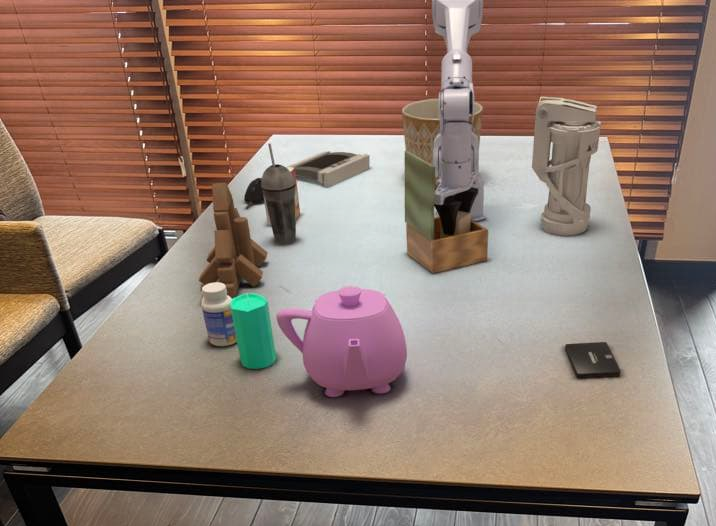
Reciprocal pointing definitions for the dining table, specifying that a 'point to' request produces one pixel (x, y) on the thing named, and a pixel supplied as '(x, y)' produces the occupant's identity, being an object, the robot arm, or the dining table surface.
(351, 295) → the teapot
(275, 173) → the beverage cup
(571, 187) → the lantern
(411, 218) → the lid
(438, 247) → the open wooden box
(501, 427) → the dining table surface
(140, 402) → the dining table surface
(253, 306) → the candle
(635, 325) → the dining table surface
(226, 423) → the dining table surface
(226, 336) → the pill bottle
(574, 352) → the solid state drive
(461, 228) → the cube
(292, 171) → the small box
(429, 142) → the planter
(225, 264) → the wooden blocks
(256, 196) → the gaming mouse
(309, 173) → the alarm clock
